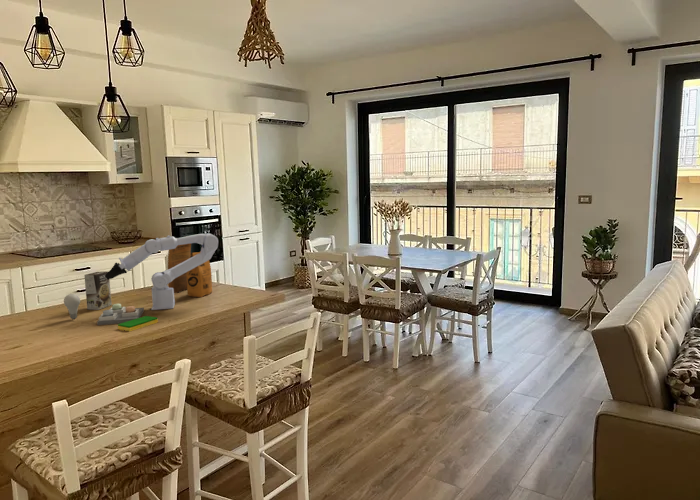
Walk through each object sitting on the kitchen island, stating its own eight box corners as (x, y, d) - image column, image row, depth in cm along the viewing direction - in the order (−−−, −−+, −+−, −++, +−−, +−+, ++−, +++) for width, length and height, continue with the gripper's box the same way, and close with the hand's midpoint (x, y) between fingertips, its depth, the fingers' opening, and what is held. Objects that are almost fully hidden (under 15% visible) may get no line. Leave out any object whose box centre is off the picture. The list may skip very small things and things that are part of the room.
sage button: (122, 307, 220) (121, 303, 220) (120, 309, 217) (120, 305, 217) (113, 308, 220) (112, 304, 219) (111, 310, 216) (111, 306, 216)
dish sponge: (117, 330, 199) (117, 324, 198) (146, 321, 211) (146, 315, 210) (130, 332, 195) (129, 326, 195) (158, 323, 207) (158, 317, 207)
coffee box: (99, 310, 229) (96, 274, 227) (86, 309, 230) (83, 274, 228) (112, 305, 238) (109, 271, 235) (100, 304, 239) (97, 270, 237)
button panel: (143, 310, 226) (143, 304, 225) (137, 321, 208) (136, 314, 208) (107, 313, 222) (106, 306, 222) (97, 325, 205) (96, 318, 204)
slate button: (113, 314, 210) (113, 309, 210) (111, 316, 207) (111, 311, 207) (104, 314, 210) (103, 310, 209) (102, 317, 206) (101, 312, 206)
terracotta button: (135, 310, 216) (135, 305, 215) (134, 312, 212) (133, 307, 212) (126, 311, 215) (126, 306, 215) (125, 313, 211) (124, 308, 211)
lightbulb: (85, 317, 216) (82, 292, 214) (73, 321, 210) (70, 295, 209) (74, 316, 218) (71, 291, 216) (62, 320, 212) (59, 295, 211)
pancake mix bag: (198, 287, 273) (195, 235, 269) (173, 294, 256) (169, 239, 252) (188, 286, 276) (185, 235, 272) (163, 294, 259) (159, 239, 255)
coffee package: (184, 296, 251) (181, 253, 248) (198, 291, 263) (195, 249, 260) (201, 297, 248) (198, 253, 245) (215, 292, 260) (213, 249, 257)
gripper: (130, 251, 230) (104, 270, 226) (126, 250, 216) (98, 270, 212) (140, 264, 231) (114, 282, 227) (137, 264, 217) (109, 283, 214)
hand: (107, 277), depth 220 cm, fingers open, 7 cm apart
